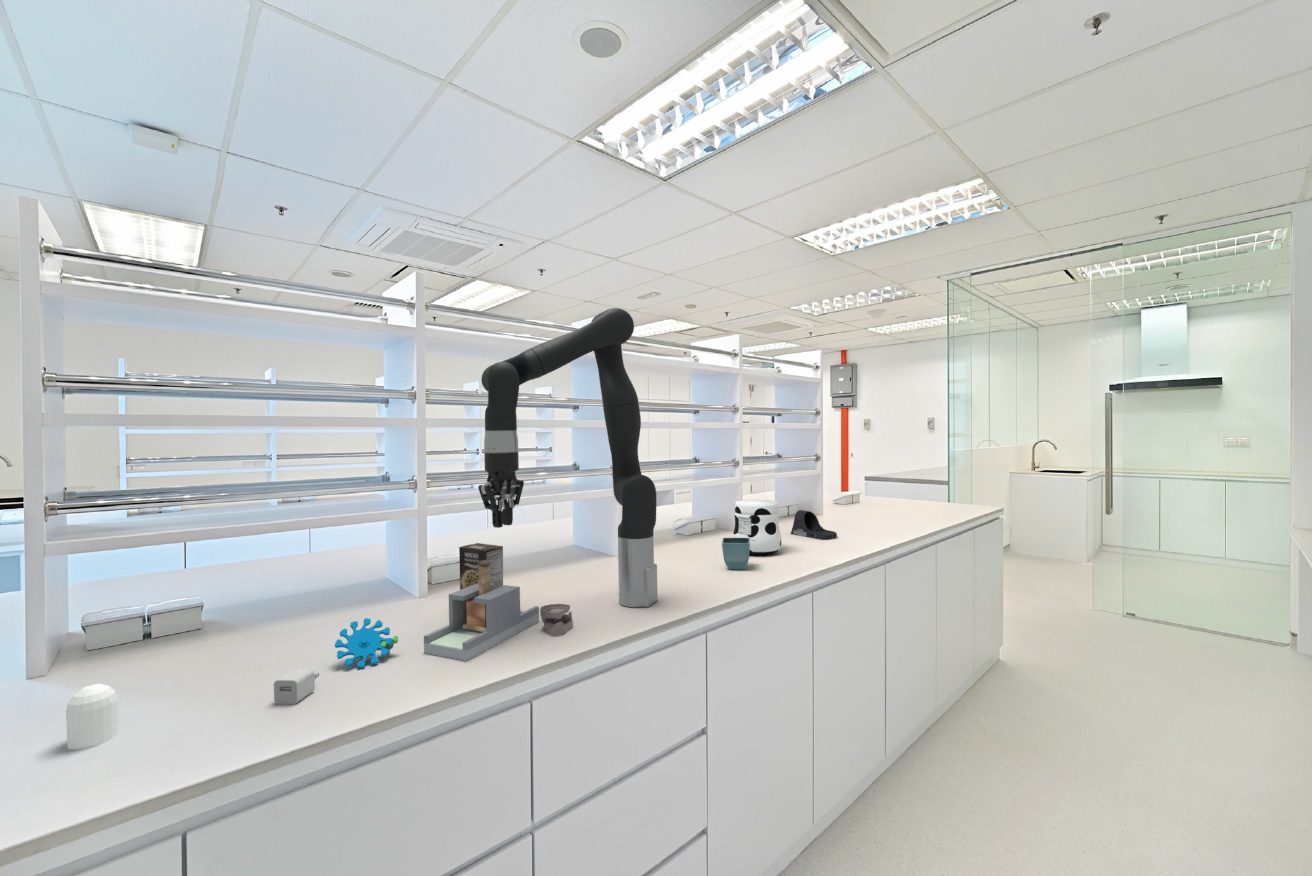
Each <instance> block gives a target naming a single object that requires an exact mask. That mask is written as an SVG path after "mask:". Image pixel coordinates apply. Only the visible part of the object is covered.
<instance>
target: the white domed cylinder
mask: <svg viewBox="0 0 1312 876" xmlns="http://www.w3.org/2000/svg"><path fill="white" fill-rule="evenodd" d="M118 701H119V700H118V694H117V692H116V690H115V689H114V688H112V687H111V686H110V685H107V684H102V683H96V684H90V685H87V686H85V687H82V688H81V689H80V690H78V691H76V692H75V693H74V694H73V695H72V697H71V698H70V699H69V700H68V702H67V704H66V709H65V716H66V717H65V718H66V719H65V721H66V723H65V724H66V748H67V749H68V750H71V751H72V750H73V751H76V750H86V749H88V748H93V747H97V746H98V745H102V744H104V743H107V742H109V741H110V740H113V739H114V738H115V737H117V736H118V734H119V729H120V728H119V727H120V726H119V702H118Z"/></svg>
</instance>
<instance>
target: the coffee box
mask: <svg viewBox="0 0 1312 876" xmlns="http://www.w3.org/2000/svg"><path fill="white" fill-rule="evenodd" d="M458 549H459V553H458V554H459V590H461V589H464V588H467V587H469V586H472V585H475V584H477V583H479V569H478V567H479V561H482V560H489V561H490V575H491V584H495V588H494V589H497V588H499V587H502V586H504V546H502V545H495V544H488V543H479V542H476V543H471V544H467V545H466V544H465V545H462V546H459V547H458ZM494 589H492V590H494ZM492 590H491V591H492Z"/></svg>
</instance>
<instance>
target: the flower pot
mask: <svg viewBox="0 0 1312 876" xmlns="http://www.w3.org/2000/svg"><path fill="white" fill-rule="evenodd" d="M721 548H722V557H723V560H724V563H725V565H726V567H727V569H728V570H739V571H740V570H744V571H745V570H746V568H747V566H748V564H749V559H750V554H749V551H750V538H733V537H723V538H722V540H721Z"/></svg>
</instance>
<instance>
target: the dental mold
mask: <svg viewBox="0 0 1312 876" xmlns="http://www.w3.org/2000/svg"><path fill="white" fill-rule="evenodd" d="M567 613H568V614H567ZM572 615H573V613H572V611H571V605H570V604H565V603H553V604H552V603H551V604H546V605H542V606H541V607H539V616H540V618H541V622H542V623H543V629H542V632H544V633H546V634H548V635H549V636H550V637H554V638H556V637H559V636H564V635H565V634H567V633H568V632H569V631H570V630H572V629H573V628H574V625H573V616H572Z"/></svg>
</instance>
